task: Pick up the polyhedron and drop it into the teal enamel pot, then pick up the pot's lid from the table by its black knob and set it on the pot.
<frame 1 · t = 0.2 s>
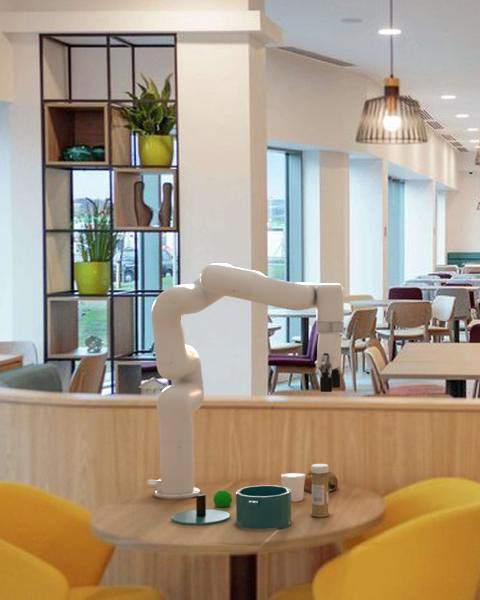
hand: (330, 389, 295), 31 cm above the table, tool pointing down, fingers open, 9 cm apart
bread roll: (319, 489, 311), on the table
lid: (201, 518, 274), point 1 cm above the table
white cup: (293, 500, 298), on the table
spice jar: (320, 516, 279), on the table
pot: (263, 524, 271), on the table
polyhedron: (222, 508, 288), on the table
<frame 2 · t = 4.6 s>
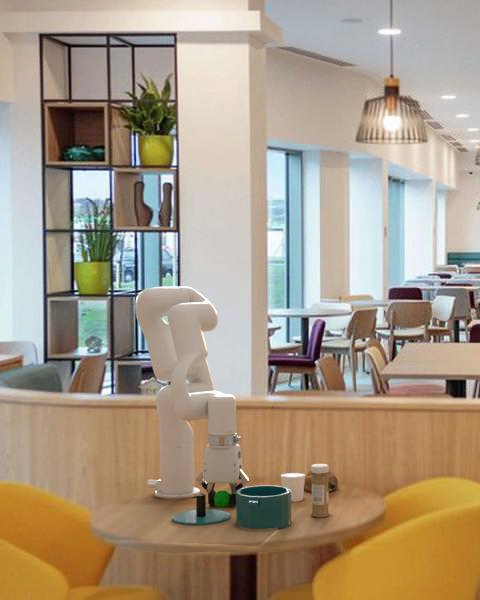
hand: (222, 506, 288), 0 cm above the table, tool pointing down, fingers closed on polyhedron, 5 cm apart
polyhedron: (222, 508, 288), on the table, touching gripper
everything else where it was.
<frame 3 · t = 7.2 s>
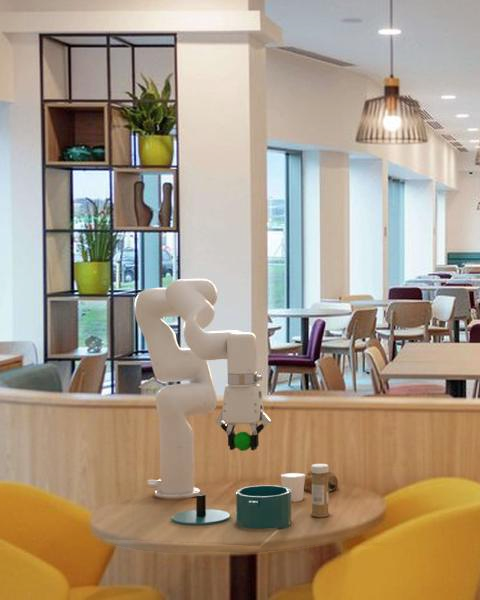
hand: (243, 448, 278), 18 cm above the table, tool pointing down, fingers closed on polyhedron, 5 cm apart
polyhedron: (243, 450, 278), point 17 cm above the table, touching gripper
everything else where it was.
when the fingers open (9 cm above the table, at t = 10.2 s): polyhedron drops 6 cm, resting on pot.
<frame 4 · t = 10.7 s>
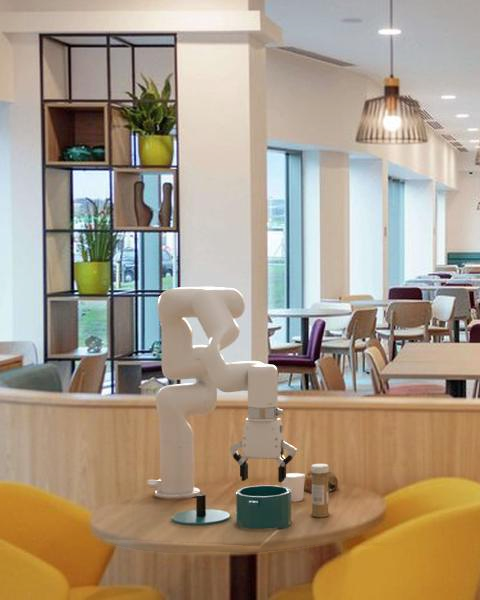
hand: (263, 480, 270), 11 cm above the table, tool pointing down, fingers open, 9 cm apart
polyhedron: (266, 515, 270), point 2 cm above the table, touching pot
everything else where it was.
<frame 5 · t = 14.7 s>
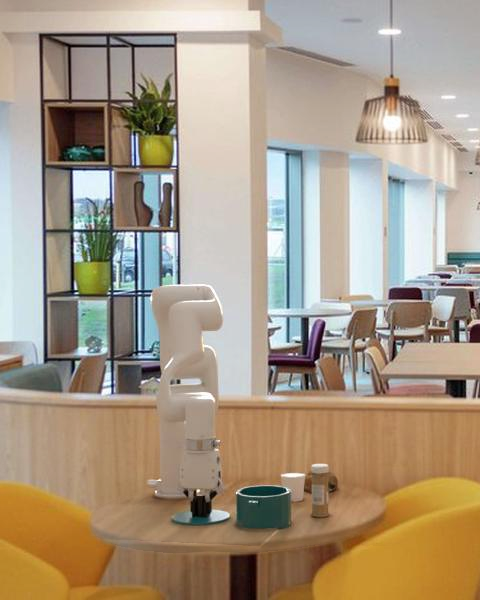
hand: (201, 515, 274), 1 cm above the table, tool pointing down, fingers closed on lid, 2 cm apart
lid: (201, 518, 274), point 1 cm above the table, touching gripper
everything else where it was.
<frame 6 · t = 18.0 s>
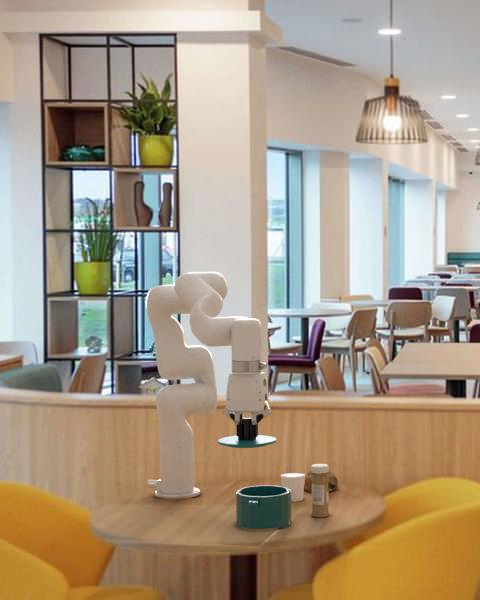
hand: (247, 438, 271), 22 cm above the table, tool pointing down, fingers closed on lid, 2 cm apart
lid: (247, 442, 271), point 21 cm above the table, touching gripper
everything else where it was.
when the fingers open (9 cm above the table, at t = 21.4 s): lid stays where it is, resting on pot.
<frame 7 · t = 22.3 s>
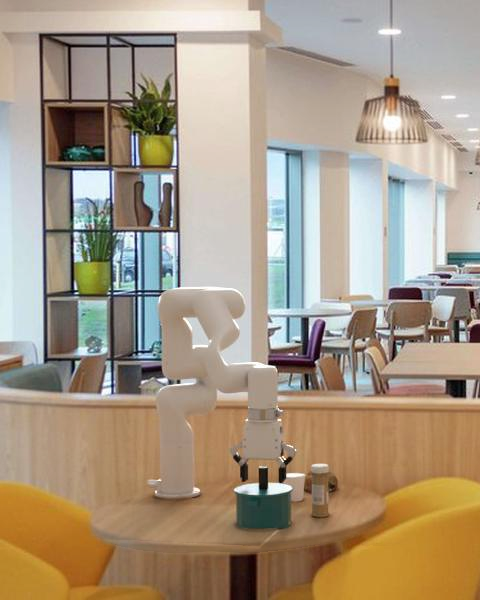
hand: (263, 481, 270), 11 cm above the table, tool pointing down, fingers open, 9 cm apart
lid: (263, 491, 270), point 8 cm above the table, touching pot
everything else where it was.
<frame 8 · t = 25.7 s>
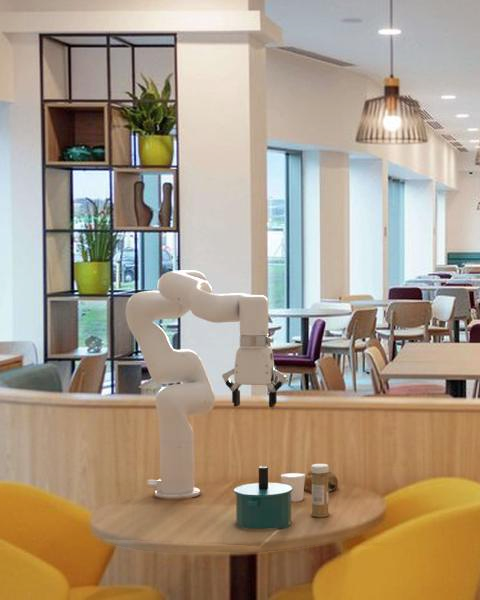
hand: (254, 406, 282), 28 cm above the table, tool pointing down, fingers open, 9 cm apart
nothing on the table moved.
at the end: polyhedron inside the target area in the pot (0.9 cm from its centre), point 2.3 cm above the pot's base; lid 0.1 cm off-centre on the pot, point 8.5 cm above the pot's base; lid tilted 0° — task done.
